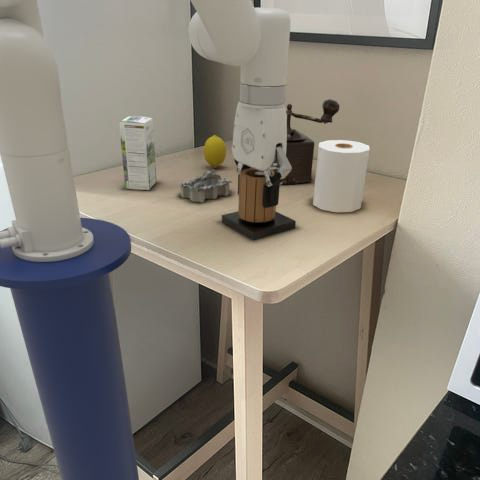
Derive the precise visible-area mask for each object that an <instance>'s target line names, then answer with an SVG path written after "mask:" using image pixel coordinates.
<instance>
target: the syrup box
mask: <svg viewBox="0 0 480 480" xmlns="http://www.w3.org/2000/svg"><path fill="white" fill-rule="evenodd" d="M119 136H120V146H121V147H120V148H121V156H122V157H121V158H122V167H123V178H124V188H125V189H126V190H136V191H137V190H139V191H150V190H151V189H152V188H153V187H154V186H155V185H156V183H157V167H156V166H157V165H156V151H155V134H154V119H153V118H152V117H148V116H142V115H130V116H126V117H125V118H123V119H122V120H120V121H119Z"/></svg>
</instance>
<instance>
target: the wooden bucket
mask: <svg viewBox="0 0 480 480" xmlns="http://www.w3.org/2000/svg"><path fill="white" fill-rule="evenodd" d="M255 172H264V171H260V170H257V169H255V168H249V169H244V170H242V171H241V172H240V177H239V195H238V214H239V217H240V218H241V219H243V220H246V221H249V222H268V221H271V220H273V219H274V218H275V212H277V206H273V207H268V208H264V207H263V189H264V185H267V184H266V180H265V177H255ZM270 172H271V177H272V176H273V175H274V171H270Z"/></svg>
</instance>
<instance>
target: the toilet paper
mask: <svg viewBox="0 0 480 480" xmlns="http://www.w3.org/2000/svg"><path fill="white" fill-rule="evenodd" d="M370 151H371V149H370V145H368V144H365V143H363V142H360V141H354V140H347V139H327V140H324V141H321V142H318V150H317V159H316V169H315V177H314V178H315V180H314V187H313V188H314V189H313V200H312V206H314V207H316V208H318V209H319V210H321V211H326V212H330V213H331V212H332V213H337V214H338V213H352V212H356V211H358V210H360V209H361V208H362V202H363V195H364V190H365V183H366V177H367V176H366V175H367V169H368V163H369V158H370Z"/></svg>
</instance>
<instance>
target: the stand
mask: <svg viewBox="0 0 480 480" xmlns="http://www.w3.org/2000/svg"><path fill="white" fill-rule="evenodd" d="M255 177H265V176H264V172H255ZM238 211H239V210H238ZM238 211H233V212H230V213H225V214H222V215H221V223H222V224H223V225H226V226H227V227H229V228H231V229H233V230H234V231H236V232H238V233H239V234H241V235H243V236H245V237H246V238H248V239H250V240H252V241H255V240H259V239H263V238H267V237H271V236H272V235H276V234H280V233H284V232H287V231H290V230H294V229H296V221H297V220H295V219H292V217H291V218H290V217H288V216H286V215H285V214H282V213H280V212H278V211H276V212H275V218H274V219H273V220H271V221H268V222H249V221H246V220H243V219H241V218H240V217H239V214H238Z"/></svg>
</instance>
